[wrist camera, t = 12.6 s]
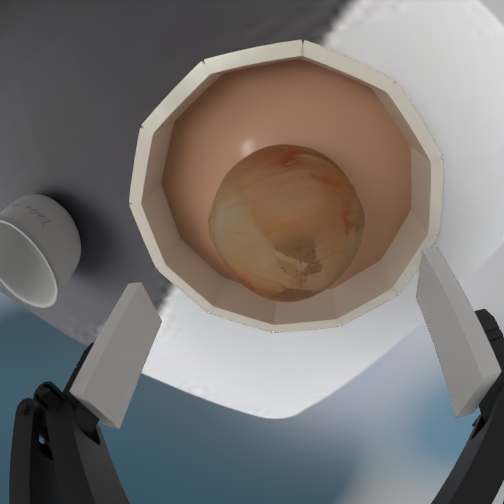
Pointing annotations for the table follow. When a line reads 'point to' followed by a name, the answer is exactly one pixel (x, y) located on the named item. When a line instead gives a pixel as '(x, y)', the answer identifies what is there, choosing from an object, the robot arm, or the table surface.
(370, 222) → the bowl
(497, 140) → the table surface
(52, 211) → the teacup
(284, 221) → the onion
